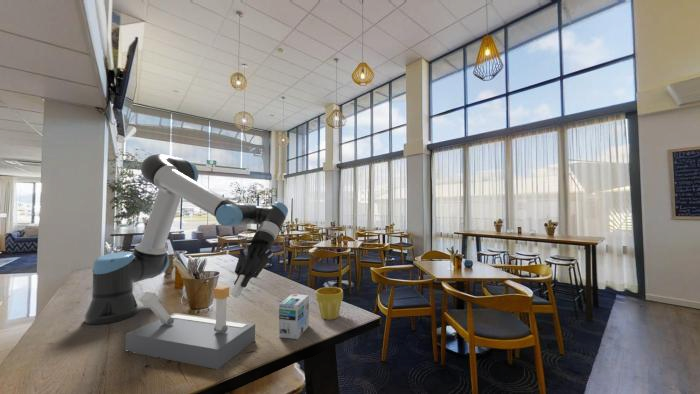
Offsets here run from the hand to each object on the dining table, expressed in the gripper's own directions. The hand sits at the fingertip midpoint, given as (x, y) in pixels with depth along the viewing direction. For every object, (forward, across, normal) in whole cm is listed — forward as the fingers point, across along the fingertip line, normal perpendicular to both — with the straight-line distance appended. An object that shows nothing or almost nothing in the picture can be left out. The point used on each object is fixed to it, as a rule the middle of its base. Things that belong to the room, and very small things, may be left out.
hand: (234, 295), depth 85 cm
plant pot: (-9, -22, -29) cm, 37 cm away
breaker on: (+9, +20, -2) cm, 22 cm away
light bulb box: (+2, -15, -18) cm, 24 cm away
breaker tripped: (+9, 0, -2) cm, 10 cm away
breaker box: (+14, +10, -6) cm, 18 cm away
